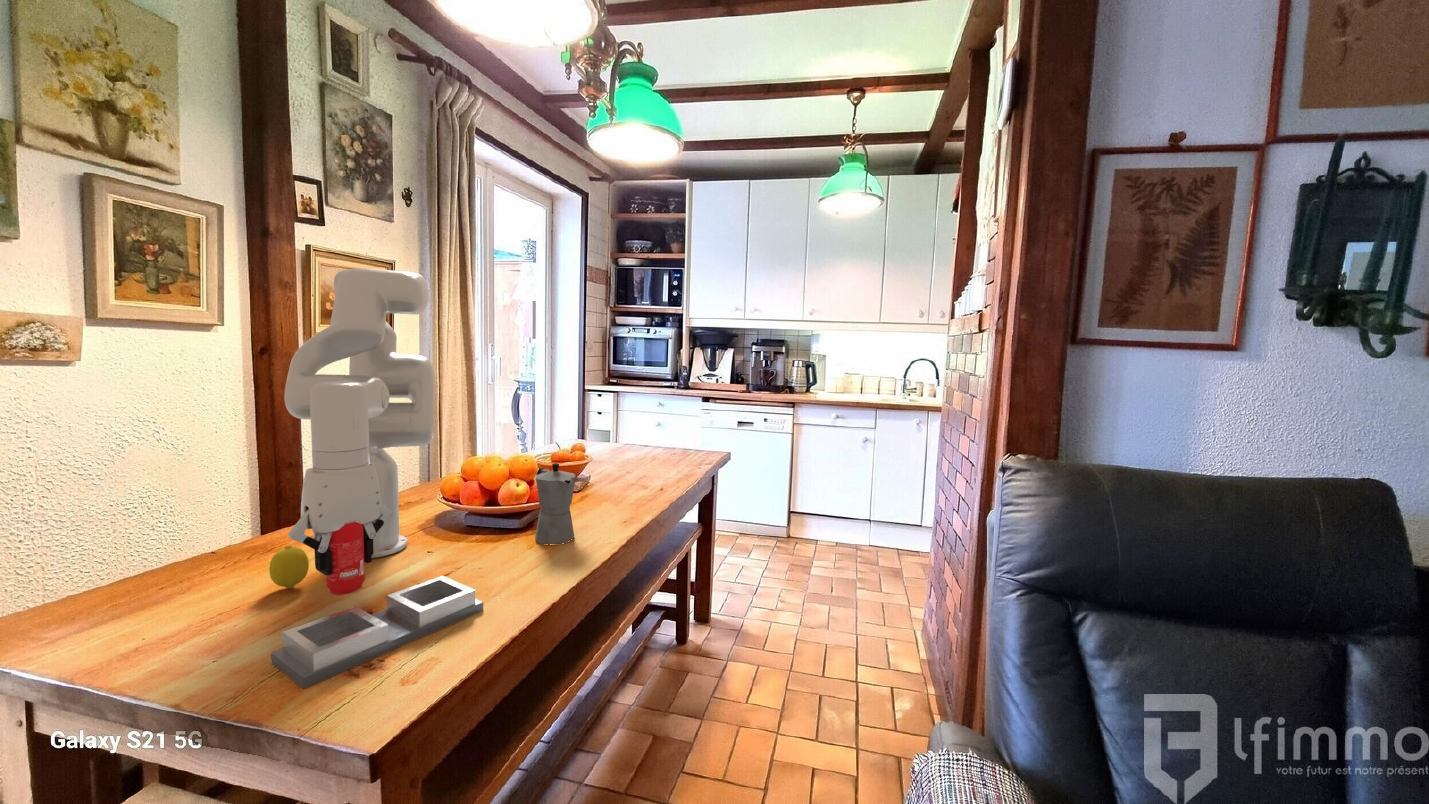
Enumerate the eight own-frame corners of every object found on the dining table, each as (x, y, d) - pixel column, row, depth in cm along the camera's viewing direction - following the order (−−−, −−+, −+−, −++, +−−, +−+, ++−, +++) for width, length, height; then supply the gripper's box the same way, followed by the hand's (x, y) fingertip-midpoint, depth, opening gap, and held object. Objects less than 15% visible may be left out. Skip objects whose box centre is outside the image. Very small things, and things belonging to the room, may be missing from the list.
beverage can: (324, 598, 85) (321, 525, 84) (329, 584, 90) (327, 515, 88) (363, 593, 88) (361, 522, 86) (366, 579, 92) (364, 511, 90)
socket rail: (271, 662, 75) (270, 635, 74) (448, 594, 97) (448, 572, 96) (303, 689, 70) (302, 659, 69) (483, 610, 92) (483, 587, 91)
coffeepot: (587, 542, 125) (588, 465, 123) (549, 551, 118) (550, 471, 117) (555, 524, 136) (555, 454, 134) (518, 532, 129) (519, 459, 128)
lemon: (316, 586, 98) (314, 543, 97) (281, 598, 93) (279, 553, 92) (298, 579, 100) (296, 537, 99) (263, 591, 95) (261, 547, 94)
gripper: (385, 446, 95) (387, 545, 97) (265, 463, 80) (272, 579, 83) (408, 453, 91) (410, 555, 93) (287, 473, 77) (293, 593, 79)
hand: (345, 565), depth 88 cm, fingers closed on beverage can, 5 cm apart
